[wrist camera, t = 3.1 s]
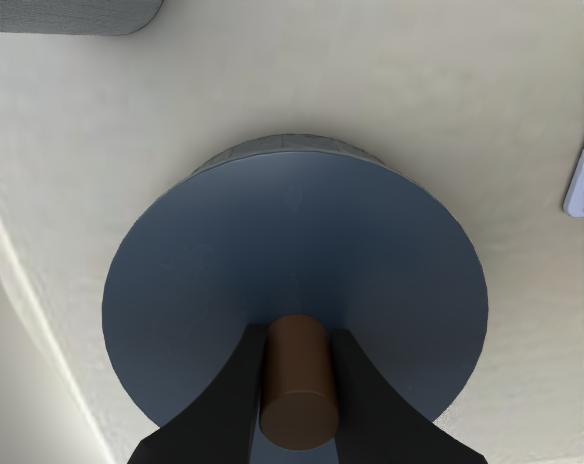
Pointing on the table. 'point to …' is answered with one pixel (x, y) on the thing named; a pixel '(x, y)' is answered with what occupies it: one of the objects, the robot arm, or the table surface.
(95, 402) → the table surface
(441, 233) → the pan lid
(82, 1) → the gray hollow cylinder
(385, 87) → the table surface
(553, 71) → the table surface
